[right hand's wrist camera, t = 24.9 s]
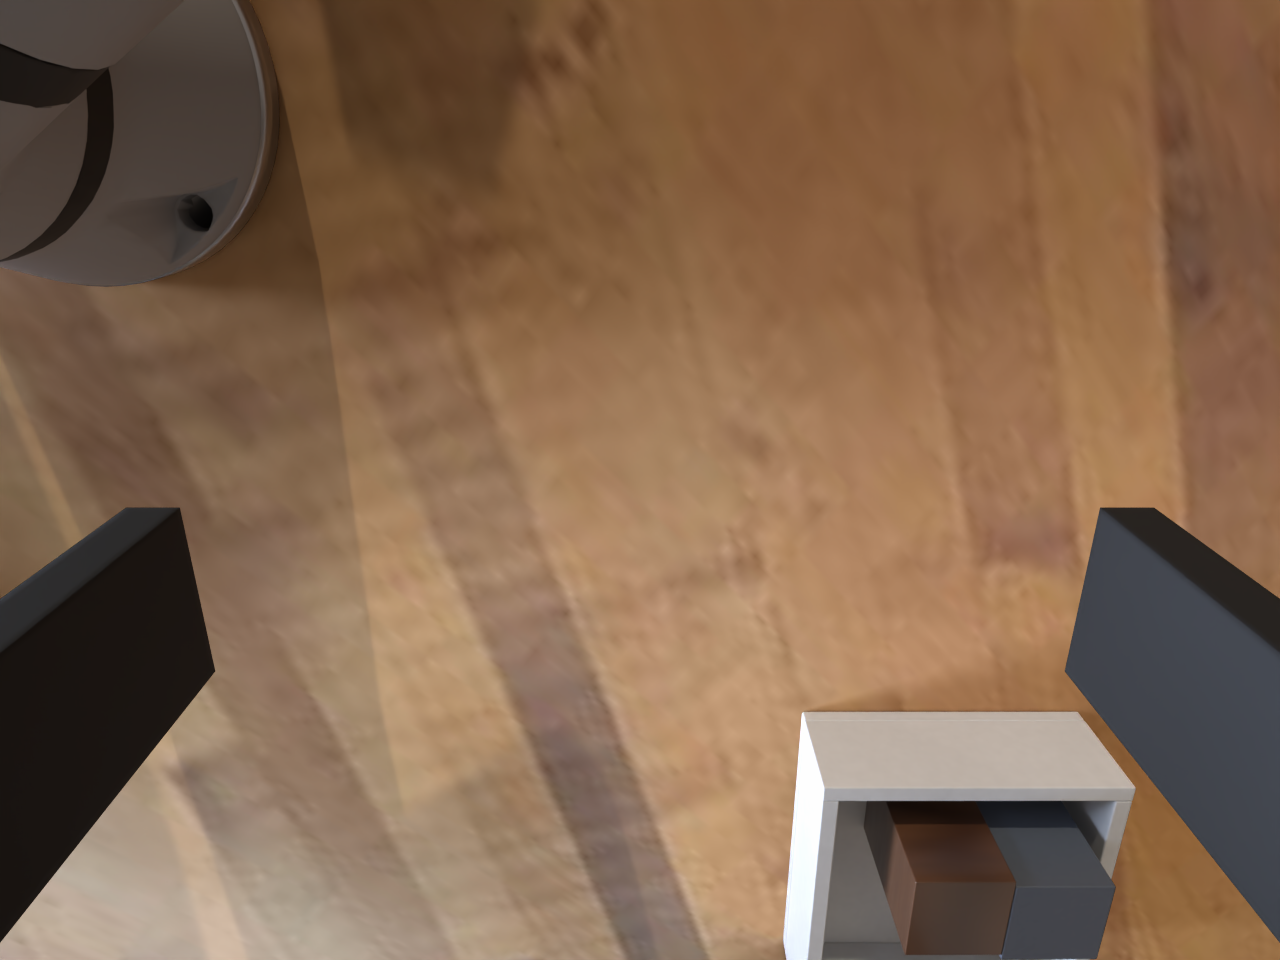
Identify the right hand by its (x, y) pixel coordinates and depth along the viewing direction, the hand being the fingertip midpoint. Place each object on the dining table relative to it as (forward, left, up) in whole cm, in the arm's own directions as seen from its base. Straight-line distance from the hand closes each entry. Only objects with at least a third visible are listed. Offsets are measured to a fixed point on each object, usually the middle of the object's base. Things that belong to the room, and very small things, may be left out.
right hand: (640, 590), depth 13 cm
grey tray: (+16, -36, -27) cm, 48 cm away
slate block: (+19, -27, -26) cm, 42 cm away
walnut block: (+15, -27, -26) cm, 40 cm away
